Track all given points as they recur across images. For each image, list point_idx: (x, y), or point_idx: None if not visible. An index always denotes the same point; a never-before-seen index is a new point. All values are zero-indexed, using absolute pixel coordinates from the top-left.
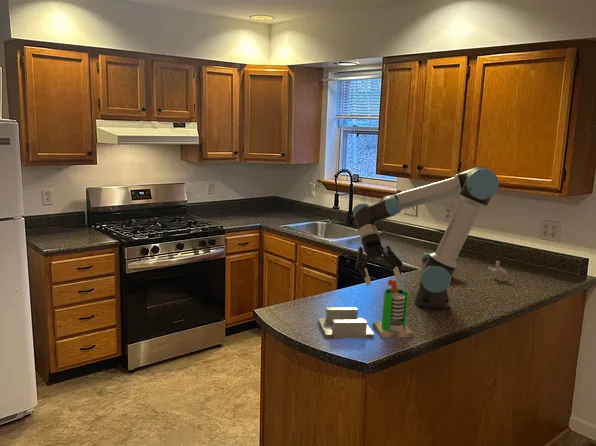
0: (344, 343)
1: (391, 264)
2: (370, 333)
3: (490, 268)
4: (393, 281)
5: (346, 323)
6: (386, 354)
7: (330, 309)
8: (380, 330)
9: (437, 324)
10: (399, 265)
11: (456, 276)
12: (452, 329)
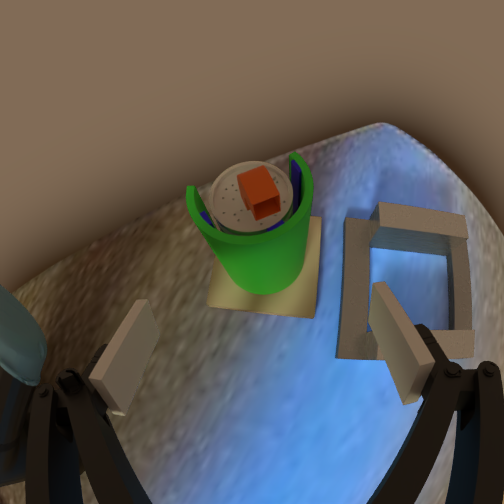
0: (422, 203)
1: (112, 438)
2: (355, 221)
3: None
4: (256, 169)
5: (435, 211)
6: (338, 139)
7: (466, 335)
8: (317, 239)
9: (108, 291)
10: (70, 372)
11: None
12: (98, 251)
